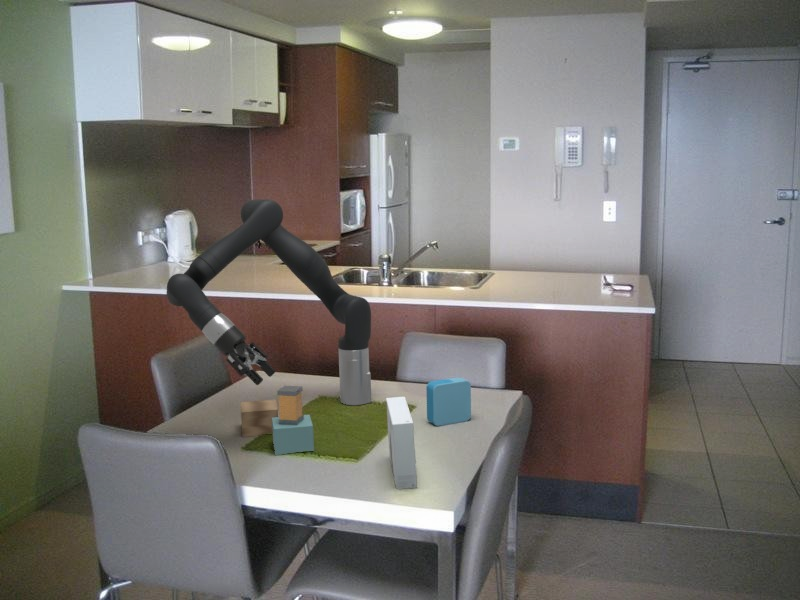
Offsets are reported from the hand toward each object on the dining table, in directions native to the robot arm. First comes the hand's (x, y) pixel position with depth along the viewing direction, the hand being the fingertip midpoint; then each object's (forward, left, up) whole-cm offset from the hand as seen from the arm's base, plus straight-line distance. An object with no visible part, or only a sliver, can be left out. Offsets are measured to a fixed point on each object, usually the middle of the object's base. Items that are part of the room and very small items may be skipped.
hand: (266, 378), depth 223 cm
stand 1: (+2, -14, -18) cm, 24 cm away
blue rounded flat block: (-51, -7, -19) cm, 55 cm away
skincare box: (-30, +27, -19) cm, 45 cm away
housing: (-6, +3, -11) cm, 13 cm away
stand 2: (-6, +3, -18) cm, 20 cm away
